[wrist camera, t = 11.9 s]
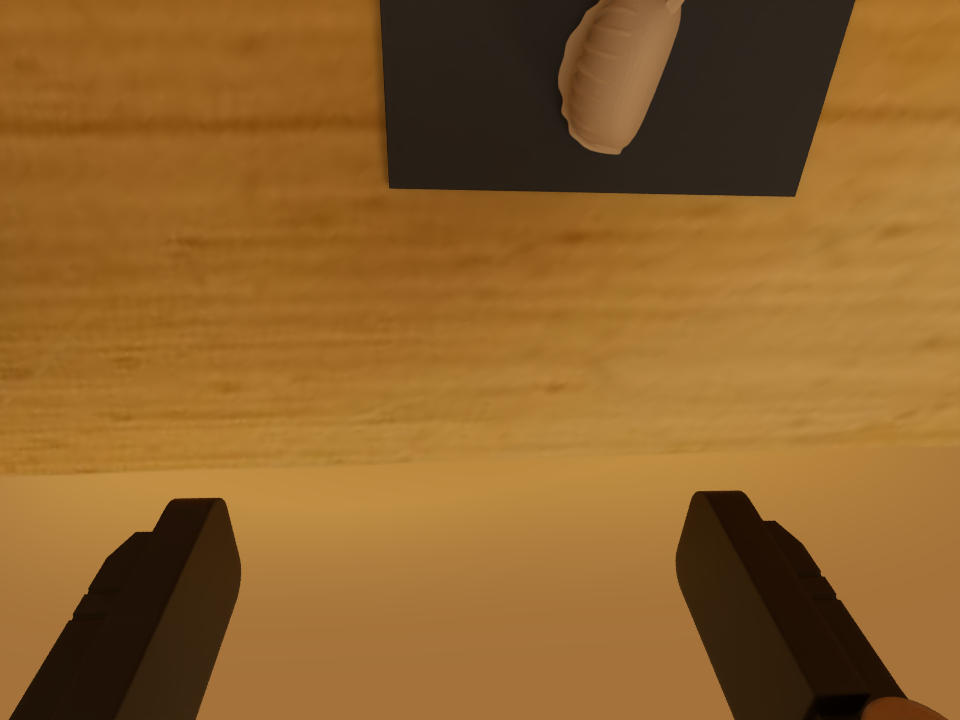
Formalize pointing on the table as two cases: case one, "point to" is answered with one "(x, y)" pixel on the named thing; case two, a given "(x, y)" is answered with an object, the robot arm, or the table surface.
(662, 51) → the decorative ornament
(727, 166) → the mat
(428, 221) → the table surface
